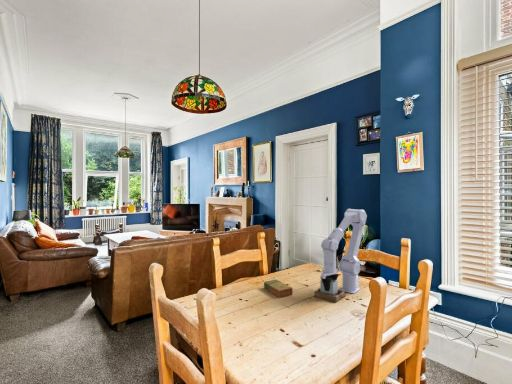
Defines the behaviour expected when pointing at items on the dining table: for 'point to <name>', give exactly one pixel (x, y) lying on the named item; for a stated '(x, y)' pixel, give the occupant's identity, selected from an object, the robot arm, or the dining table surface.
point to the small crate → (333, 287)
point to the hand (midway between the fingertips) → (329, 289)
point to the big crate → (329, 297)
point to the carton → (278, 288)
